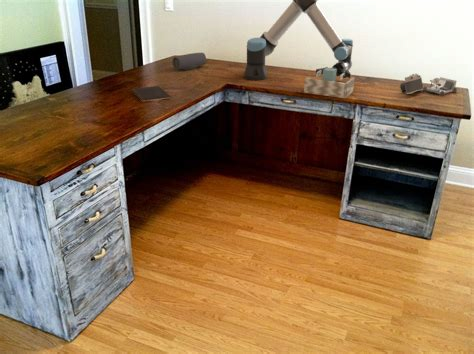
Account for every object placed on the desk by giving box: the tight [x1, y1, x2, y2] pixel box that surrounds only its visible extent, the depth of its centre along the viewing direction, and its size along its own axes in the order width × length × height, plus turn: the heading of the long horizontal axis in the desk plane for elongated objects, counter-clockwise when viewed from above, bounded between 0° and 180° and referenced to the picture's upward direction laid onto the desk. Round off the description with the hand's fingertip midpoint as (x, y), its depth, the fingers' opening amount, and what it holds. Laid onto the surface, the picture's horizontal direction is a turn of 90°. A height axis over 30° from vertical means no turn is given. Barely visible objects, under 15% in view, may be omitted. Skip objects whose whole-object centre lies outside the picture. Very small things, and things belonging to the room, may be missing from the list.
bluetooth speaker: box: [172, 52, 207, 71], centre depth 296 cm, size 23×9×10 cm, turn 133°
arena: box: [303, 76, 356, 99], centre depth 248 cm, size 24×16×8 cm, turn 62°
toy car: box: [422, 76, 458, 97], centre depth 249 cm, size 18×10×12 cm
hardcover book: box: [131, 85, 172, 101], centre depth 240 cm, size 16×23×2 cm
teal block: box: [321, 67, 337, 82], centre depth 245 cm, size 6×6×12 cm
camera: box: [399, 73, 424, 95], centre depth 249 cm, size 9×16×10 cm, turn 133°
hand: (328, 76), depth 243 cm, fingers open, 13 cm apart
